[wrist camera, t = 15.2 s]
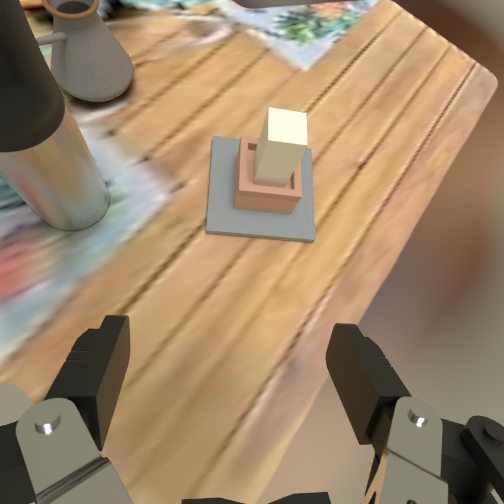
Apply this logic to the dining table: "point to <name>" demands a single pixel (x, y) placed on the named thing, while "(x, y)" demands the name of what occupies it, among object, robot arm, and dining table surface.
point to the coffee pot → (86, 52)
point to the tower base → (257, 196)
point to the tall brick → (279, 147)
